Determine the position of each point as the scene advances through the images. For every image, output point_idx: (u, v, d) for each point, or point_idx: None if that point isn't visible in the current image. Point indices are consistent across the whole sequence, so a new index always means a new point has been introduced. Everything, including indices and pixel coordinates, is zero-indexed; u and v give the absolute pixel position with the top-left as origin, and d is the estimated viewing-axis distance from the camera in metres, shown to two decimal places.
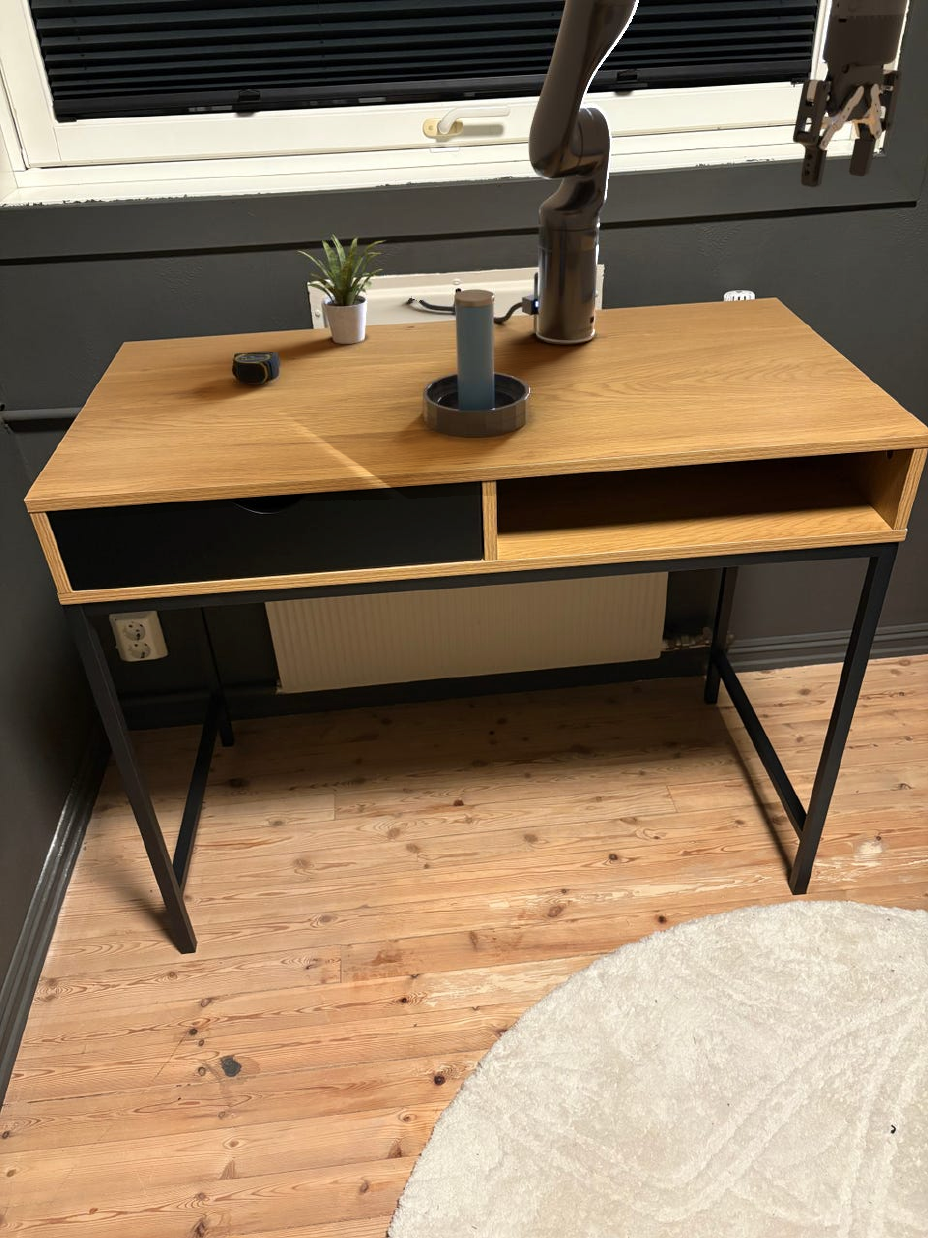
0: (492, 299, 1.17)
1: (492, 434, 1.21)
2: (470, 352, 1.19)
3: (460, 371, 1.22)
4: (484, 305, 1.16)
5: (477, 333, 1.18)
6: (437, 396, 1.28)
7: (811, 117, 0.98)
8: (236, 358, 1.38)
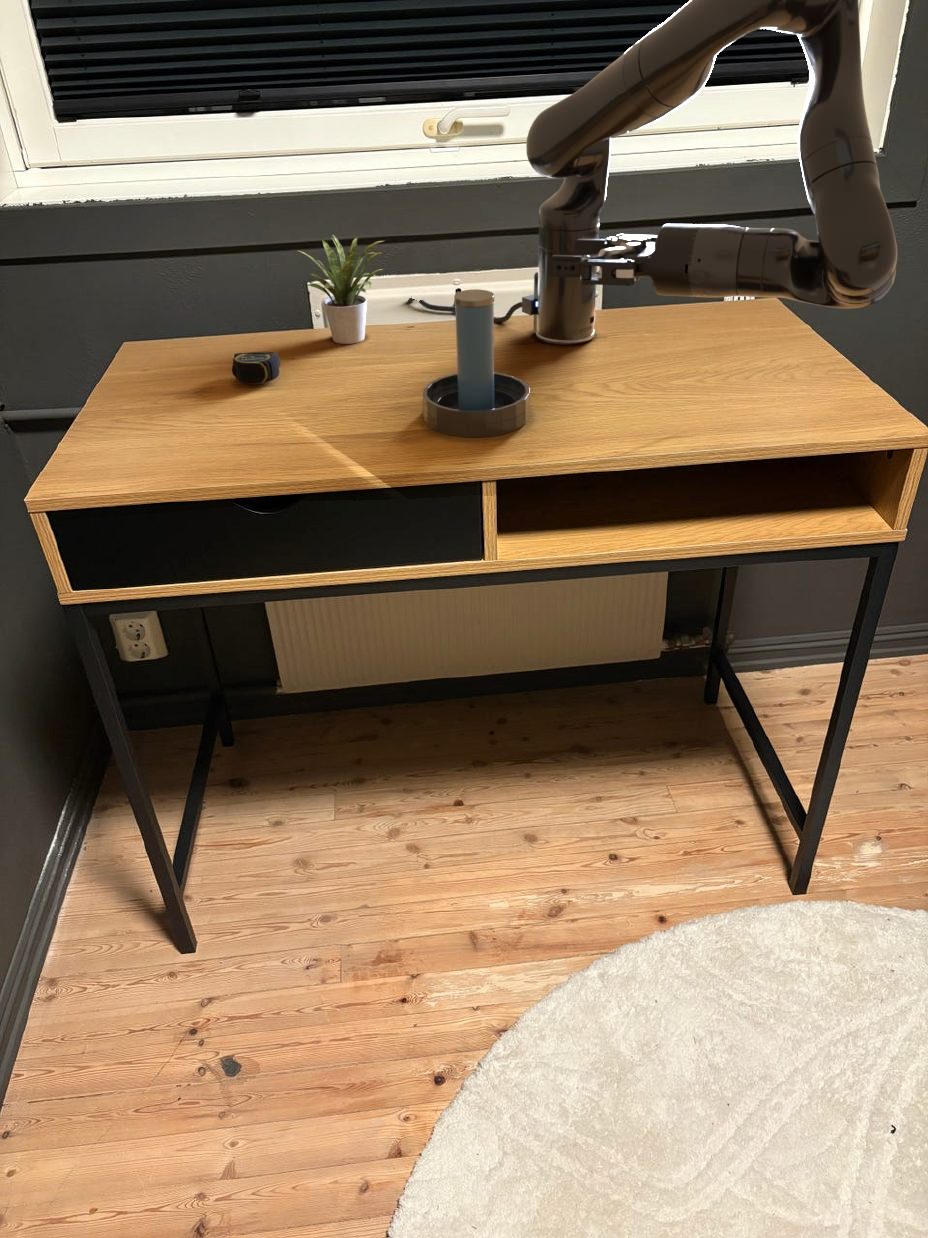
0: (492, 299, 1.17)
1: (492, 434, 1.21)
2: (470, 352, 1.19)
3: (460, 371, 1.22)
4: (484, 305, 1.16)
5: (477, 333, 1.18)
6: (437, 396, 1.28)
7: (602, 279, 1.03)
8: (237, 358, 1.38)
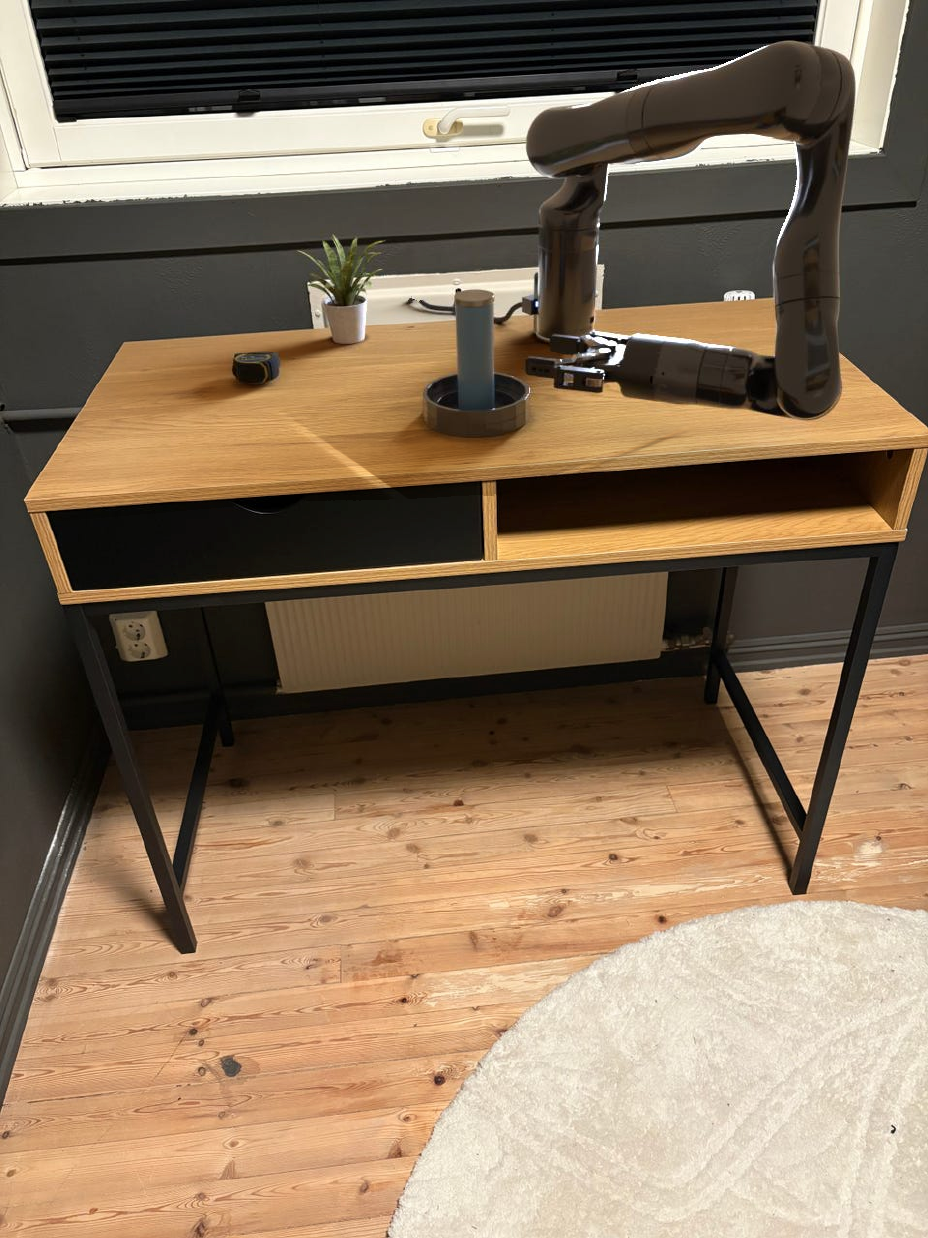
0: (492, 299, 1.17)
1: (492, 434, 1.21)
2: (470, 352, 1.19)
3: (460, 371, 1.22)
4: (484, 305, 1.16)
5: (477, 333, 1.18)
6: (437, 396, 1.28)
7: (573, 385, 1.11)
8: (236, 358, 1.38)
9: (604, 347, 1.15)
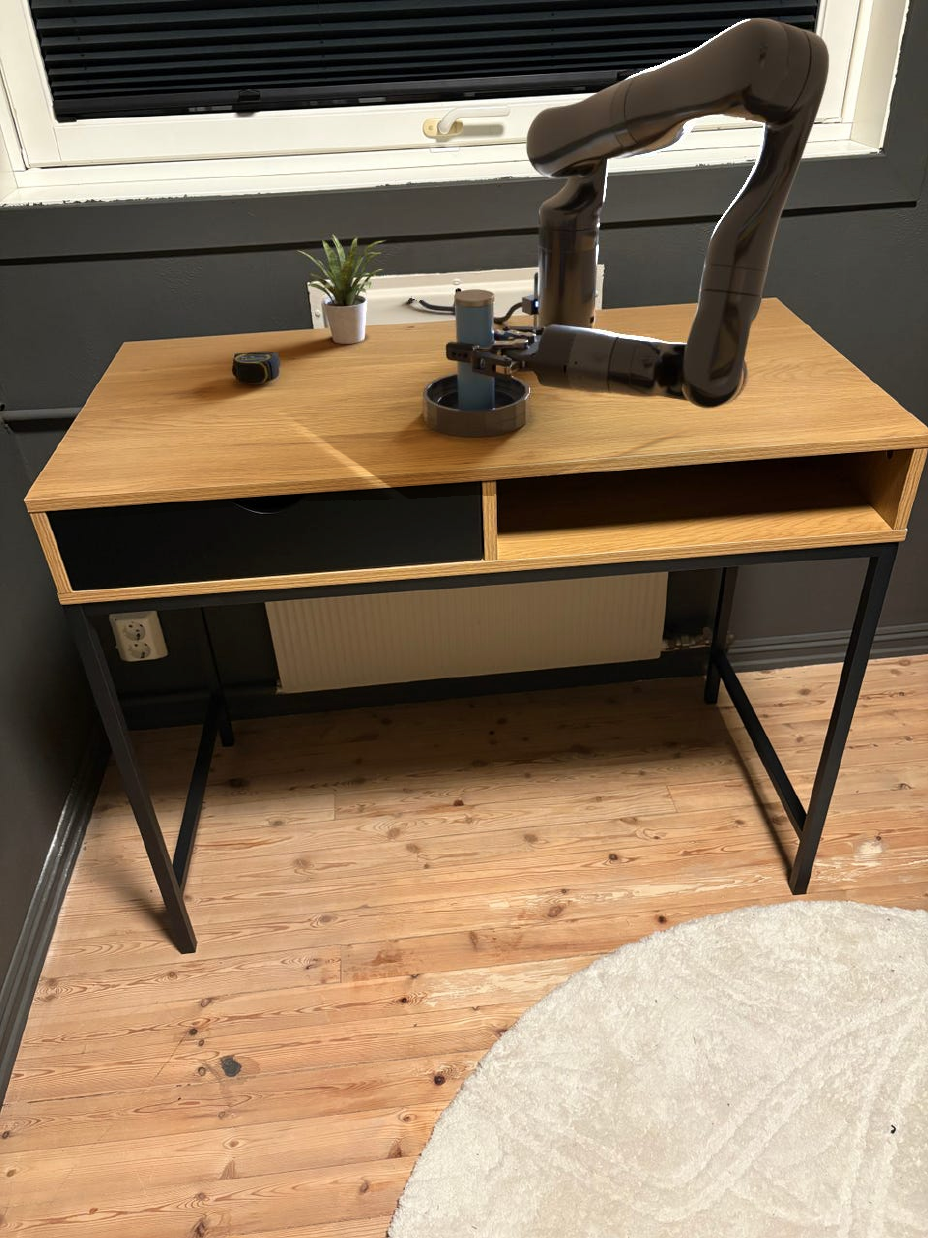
0: (492, 299, 1.17)
1: (492, 434, 1.21)
2: None
3: (460, 371, 1.22)
4: (484, 305, 1.16)
5: (477, 333, 1.18)
6: (437, 396, 1.28)
7: (485, 370, 1.15)
8: (237, 358, 1.38)
9: None
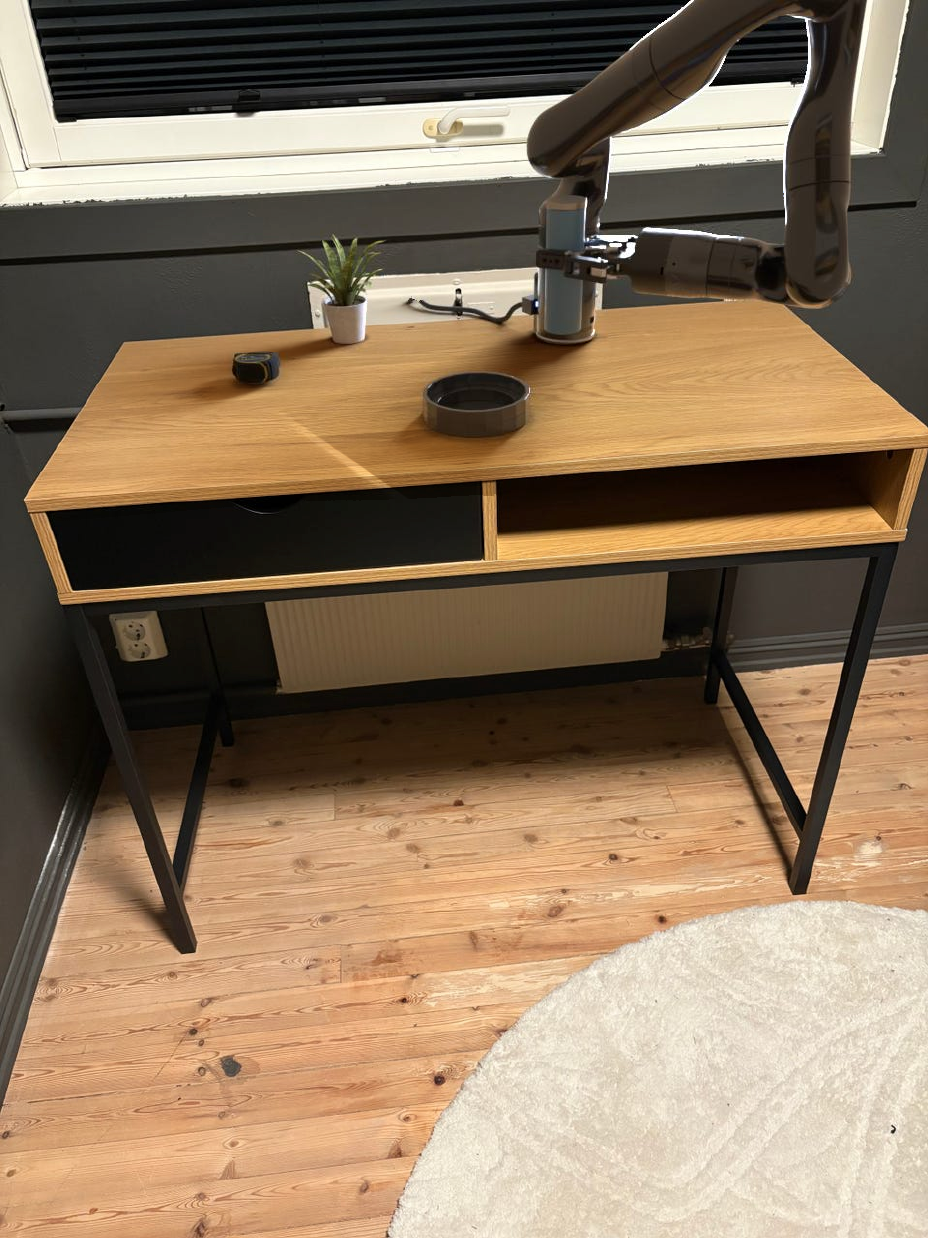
0: (585, 203, 1.15)
1: (492, 434, 1.21)
2: None
3: (549, 280, 1.20)
4: (577, 209, 1.14)
5: (569, 238, 1.16)
6: (437, 396, 1.28)
7: (579, 274, 1.14)
8: (236, 358, 1.38)
9: (615, 244, 1.17)
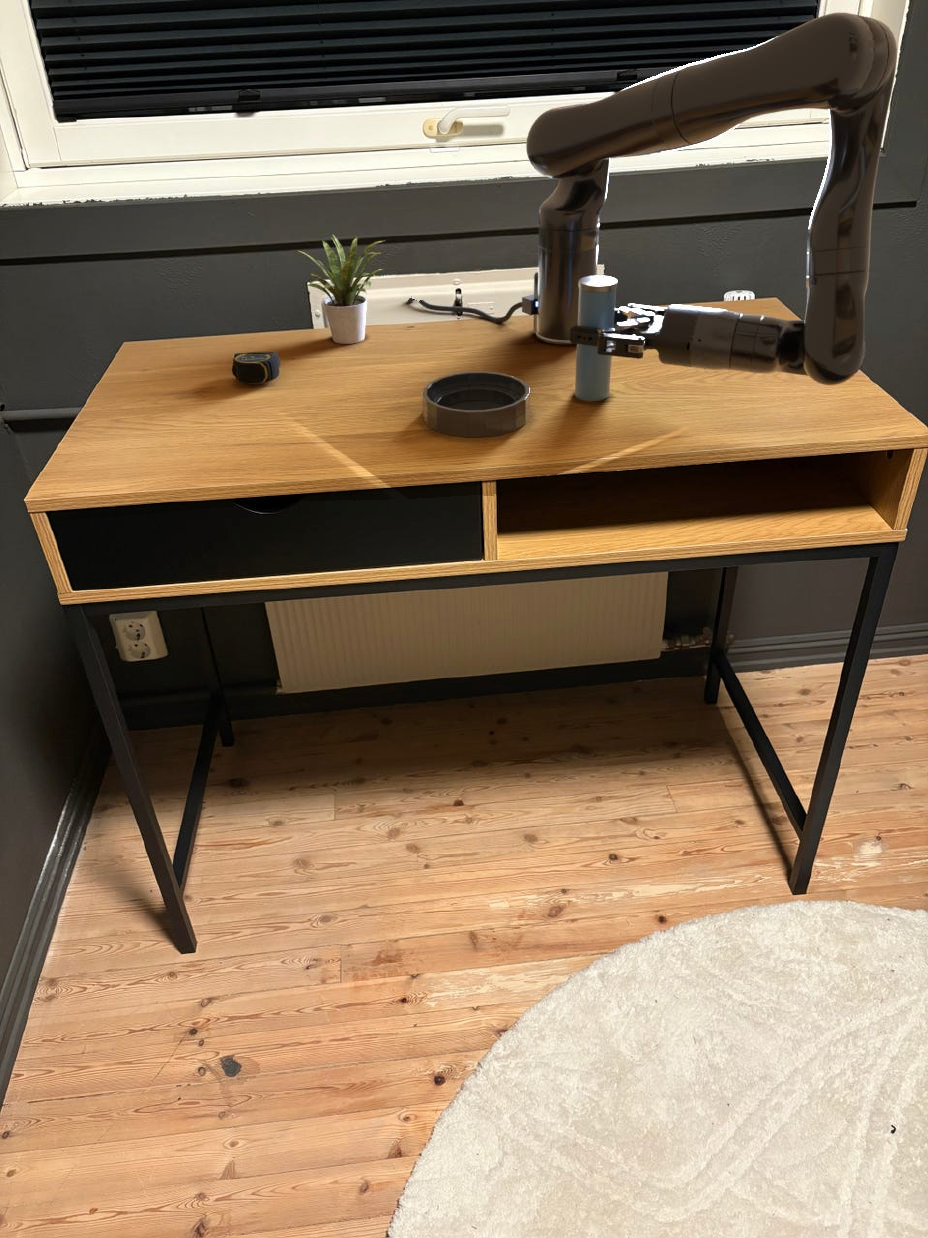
0: (616, 284, 1.22)
1: (492, 434, 1.21)
2: None
3: (580, 354, 1.27)
4: (609, 290, 1.21)
5: (600, 317, 1.23)
6: (437, 396, 1.28)
7: (615, 351, 1.20)
8: (237, 358, 1.38)
9: (643, 317, 1.24)
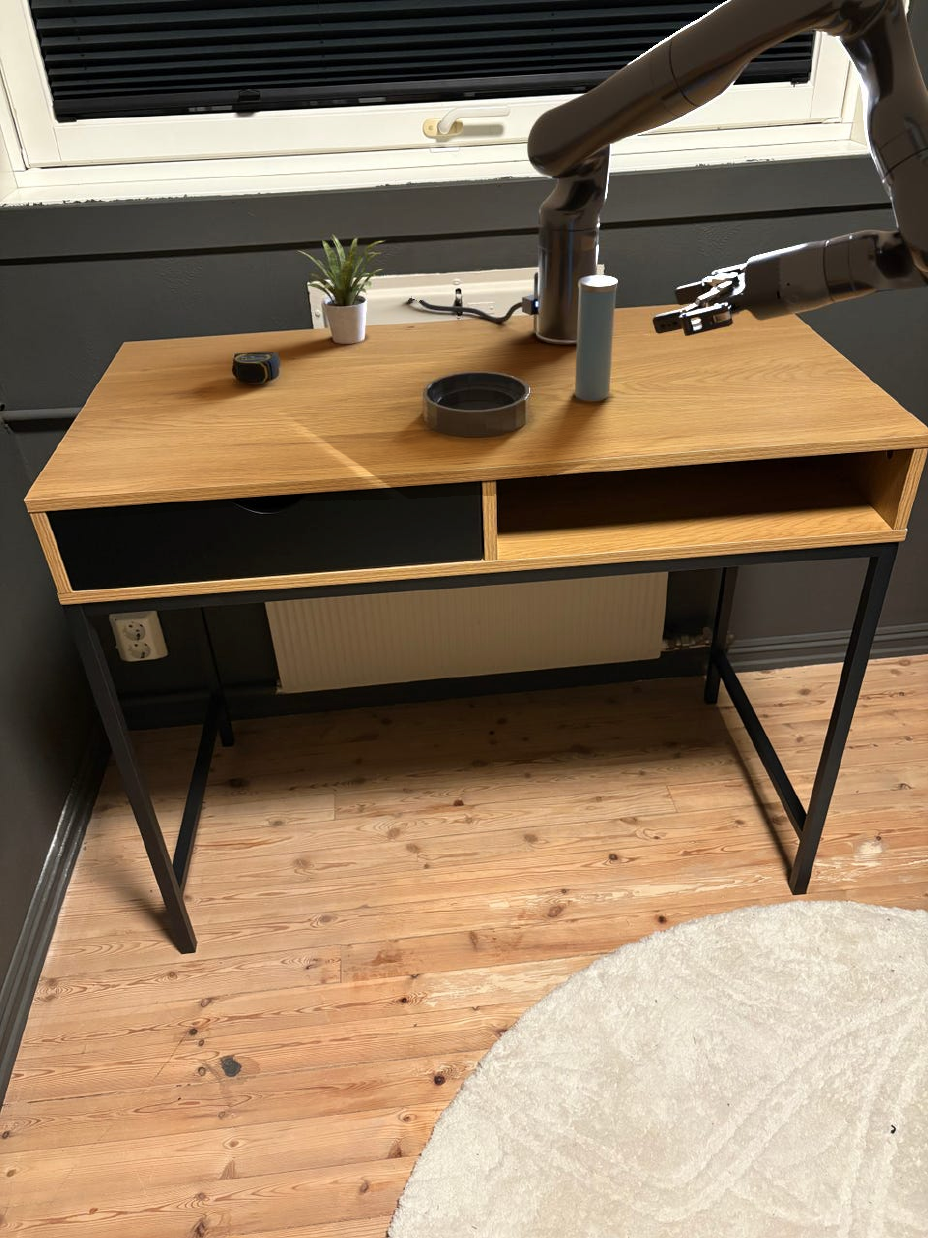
0: (616, 284, 1.22)
1: (492, 434, 1.21)
2: (592, 335, 1.24)
3: (580, 354, 1.27)
4: (609, 290, 1.21)
5: (600, 317, 1.23)
6: (437, 396, 1.28)
7: (702, 327, 1.12)
8: (237, 358, 1.38)
9: (726, 281, 1.16)
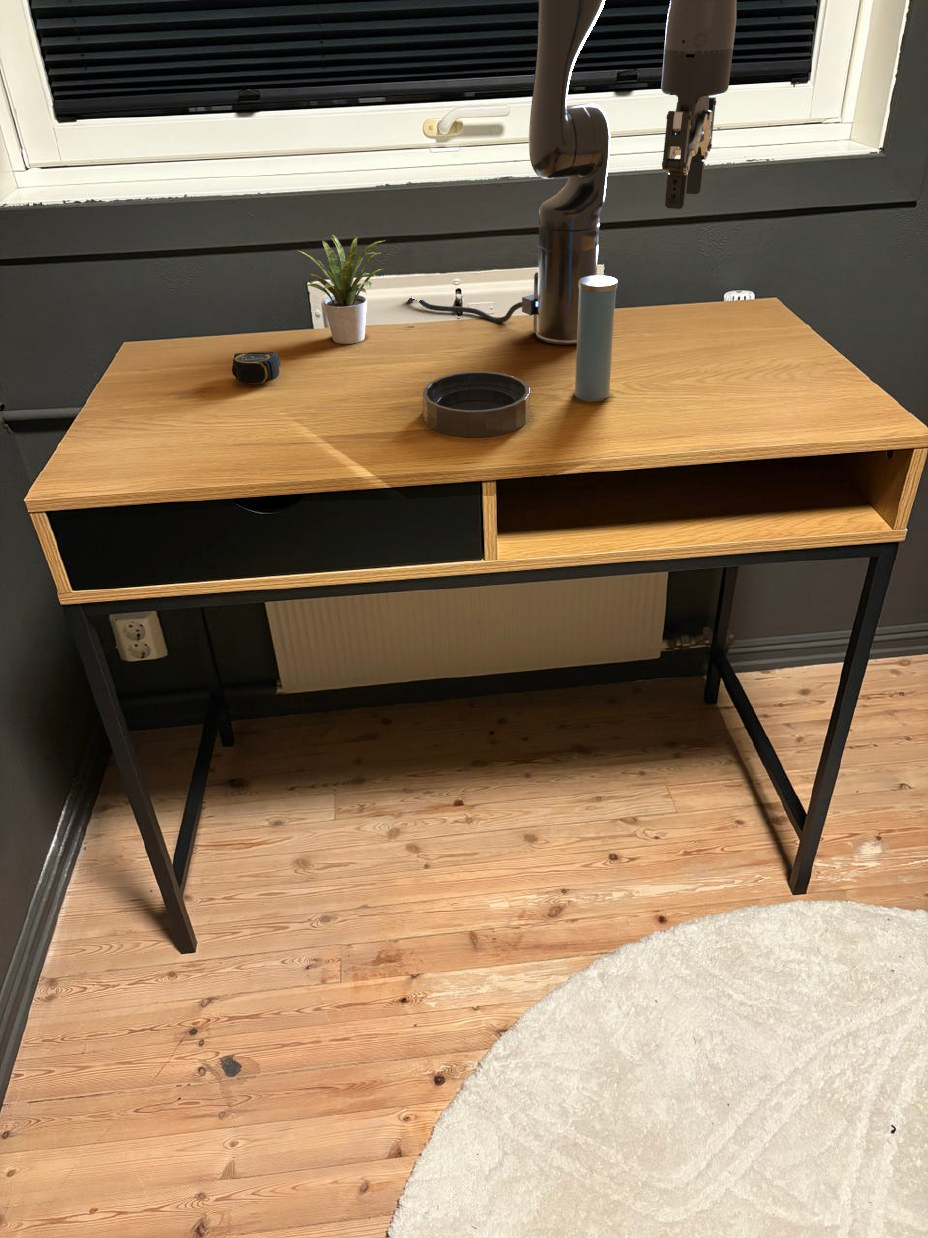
0: (616, 284, 1.22)
1: (492, 434, 1.21)
2: (592, 335, 1.24)
3: (580, 354, 1.27)
4: (609, 290, 1.21)
5: (600, 317, 1.23)
6: (437, 396, 1.28)
7: (680, 145, 1.05)
8: (237, 358, 1.38)
9: None
